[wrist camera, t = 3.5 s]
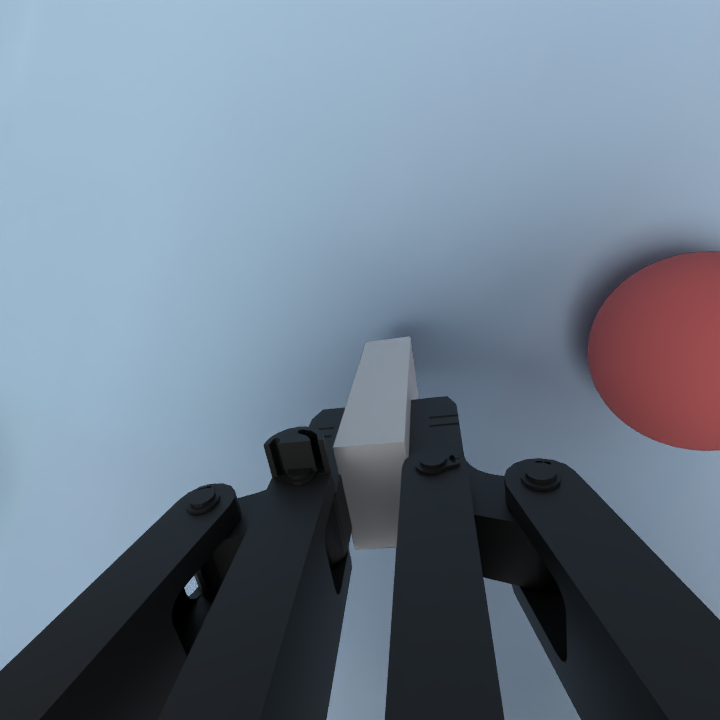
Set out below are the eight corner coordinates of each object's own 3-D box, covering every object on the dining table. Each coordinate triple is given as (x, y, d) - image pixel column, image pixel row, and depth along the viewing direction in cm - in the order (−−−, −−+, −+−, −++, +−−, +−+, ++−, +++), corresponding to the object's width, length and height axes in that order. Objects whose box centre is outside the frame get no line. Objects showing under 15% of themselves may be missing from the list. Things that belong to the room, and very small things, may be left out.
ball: (733, 388, 18) (875, 485, 12) (566, 404, 19) (628, 500, 13) (752, 225, 16) (932, 254, 10) (563, 252, 17) (635, 292, 11)
